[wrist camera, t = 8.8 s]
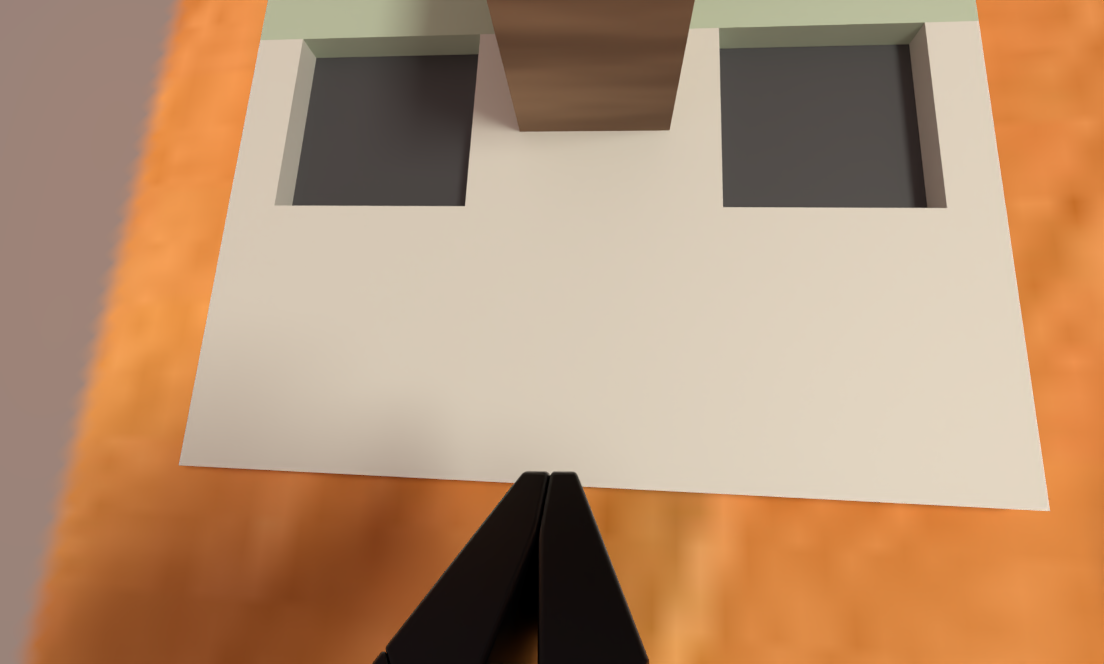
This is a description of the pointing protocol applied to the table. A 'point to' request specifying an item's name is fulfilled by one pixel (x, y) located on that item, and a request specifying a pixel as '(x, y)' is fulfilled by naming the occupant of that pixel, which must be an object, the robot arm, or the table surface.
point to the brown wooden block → (592, 61)
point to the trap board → (625, 264)
